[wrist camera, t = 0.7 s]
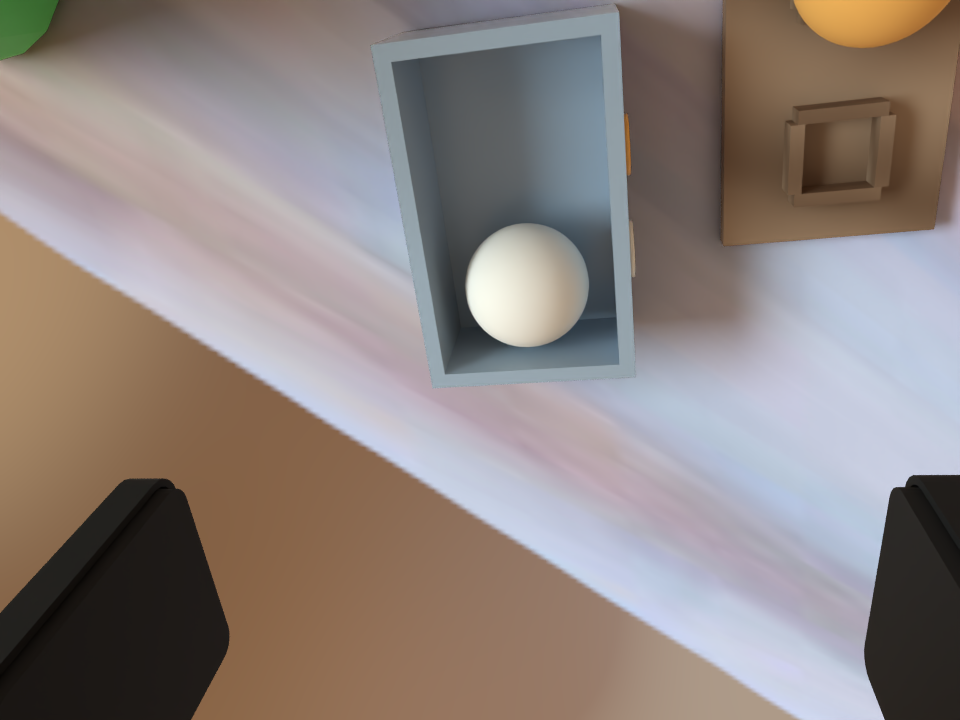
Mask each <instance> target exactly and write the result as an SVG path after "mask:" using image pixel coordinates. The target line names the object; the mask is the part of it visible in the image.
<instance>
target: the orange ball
mask: <svg viewBox="0 0 960 720" xmlns="http://www.w3.org/2000/svg"><path fill="white" fill-rule="evenodd" d="M949 2H950V0H794V4H795V6H796V8H797V10H798V12H799V14H800V16H801V17H802V19H803V20H804V22H805V23H806V24H807V25H808V26H809V27H810V28H811V29H812V30H813V31H814V32H815V33H817V34H818V35H819V36H821V37H823V38H824V39H826V40H828V41H830V42H832V43H835V44H838V45H842V46H846V47H854V48H873V47H878V46H884V45H887V44H890V43H893V42H896V41H899V40H901V39H903V38H906V37H908V36H910V35H911V34H913V33H915V32H917V31H918V30H920V29H921V28H923V27H924V26H925V25H927V24H928V23H929V22H930V21H931V20H933V19H934V18H935V17H936V16H937V15H938V14H939V13H940V12H941V11H942V10H943V9H944V8H945V6H946V5H947V4H948V3H949Z"/></svg>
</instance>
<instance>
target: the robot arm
mask: <svg viewBox="0 0 960 720" xmlns="http://www.w3.org/2000/svg"><path fill="white" fill-rule="evenodd" d="M228 645H229V628H228V624H227V621H226V618H225V615H224V612H223V609H222V606H221V603H220V600H219V597H218V594H217V591H216V588H215V584H214V581H213V578H212V575H211V572H210V569H209V566H208V563H207V560H206V557H205V553H204V550H203V547H202V544H201V541H200V538H199V535H198V532H197V529H196V526H195V523H194V519H193V517H192V513H191V510H190V507H189V504H188V501H187V498H186V496H185V494H184V492H183V491H181V490H180V489H176V488H175V486H174V484H173V483H172V482H171V481H170V480H167V479H127V480H124V481H123V482H121V483H120V484H119V485H118V486H117V487H116V488H115V489H114V490H113V491H112V493H110V495H109V496H108V497H107V498H106V499H105V500H104V501H103V502H102V503H101V504H100V506H99V507H98V508H97V509H96V510H95V511H94V512H93V513H92V514H91V515H90V516H89V517H88V518H87V520H86V521H85V522H84V523H83V524H82V525H81V526H80V527H79V528H78V529H77V530H76V532H75V533H74V534H73V535H72V536H71V537H70V538H69V539H68V540H67V541H66V542H65V543H64V544H63V546H62V547H61V548H60V549H59V550H58V551H57V552H56V553H55V554H54V555H53V556H52V557H51V559H50V560H49V561H48V562H47V563H46V564H45V565H44V566H43V567H42V568H41V569H40V571H39V572H38V573H37V574H36V575H35V576H34V577H33V578H32V579H31V580H30V581H29V582H28V584H27V585H26V586H25V587H24V588H23V589H22V590H21V591H20V592H19V593H18V594H17V595H16V597H15V598H14V599H13V600H12V601H11V602H10V603H9V604H8V605H7V606H6V607H5V608H4V610H3V611H2V612H1V613H0V720H191V719H192V717H193V715H194V713H195V711H196V709H197V707H198V706H199V704H200V702H201V700H202V698H203V696H204V694H205V692H206V691H207V688H208V687H209V685H210V683H211V681H212V680H213V677H214V676H215V674H216V672H217V670H218V668H219V666H220V665H221V663H222V661H223V659H224V657H225V655H226V652H227V649H228ZM864 657H865V666H866V670H867V674H868V677H869V680H870V683H871V686H872V688H873V691H874V693H875V696H876V698H877V701H878V703H879V706H880V709H881V711H882V714H883V716H884V719H885V720H960V475H913V476H911V477H909V479H908V481H907V482H906V486H905V487H896V488H893V490H892V491H891V494H890V498H889V504H888V510H887V516H886V522H885V528H884V534H883V539H882V545H881V551H880V557H879V563H878V569H877V575H876V581H875V587H874V593H873V599H872V605H871V611H870V617H869V623H868V629H867V635H866V640H865V648H864Z"/></svg>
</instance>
